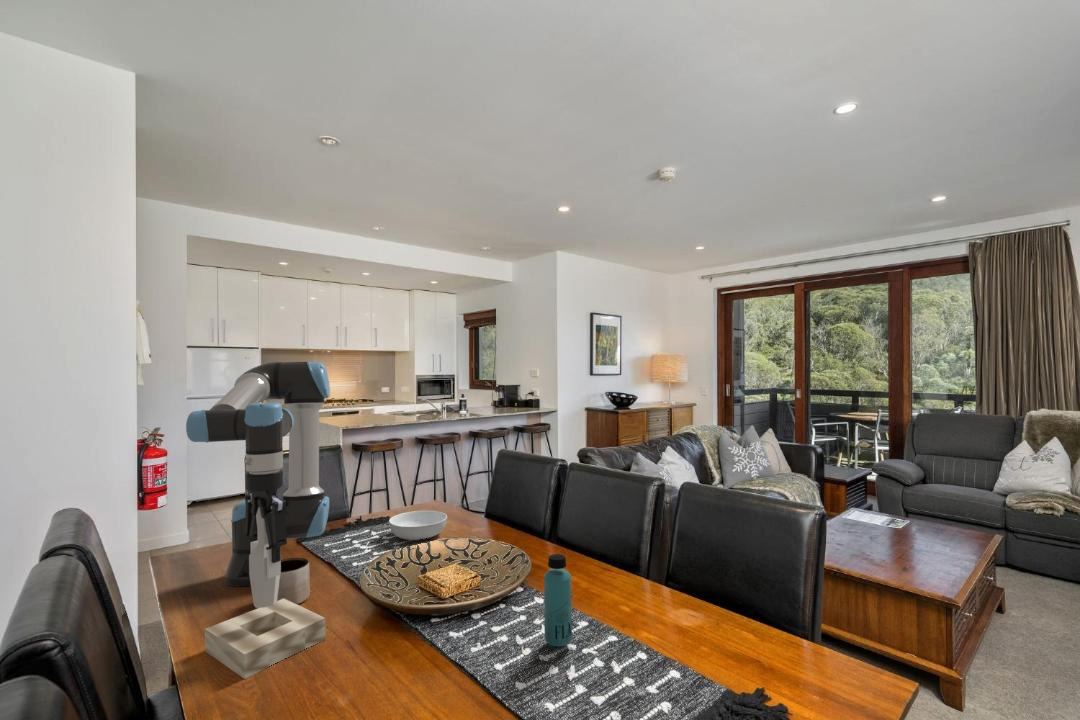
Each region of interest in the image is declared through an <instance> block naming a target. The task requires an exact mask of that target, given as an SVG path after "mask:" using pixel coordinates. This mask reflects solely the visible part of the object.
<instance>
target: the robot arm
mask: <svg viewBox="0 0 1080 720" xmlns="http://www.w3.org/2000/svg"><path fill="white" fill-rule="evenodd" d="M330 389H331V388H330V380H329V375H328V371H327V368H326V366H325V364H324V363H322V362H320V361H318V362H317V361H288V362H287V361H284V362H282V361H281V362H280V361H279V362H278V361H277V362H276V361H275V362H274V361H273V362H267V363H263V364H260V365H257V366H255V367H253V368H250V369H248V370H246V371H245V372H243V373H242V374H241V375H239V377H237V379H236V380H235V381H234V386H233V387H232V388H231V389H230V390H229V391H228V392H227V393H225V395H224V396H222V397H221V399H219V400H218V401H217V402H216V403H215V404H214V405H213V406H212V407H211V408H210V409H207V410H206V409H201V410H194V411H193V410H192V411H191V412H190V413H189V415H187V419H186V423H185V431H186V437H187V438H188V440H189V441H190V442H193V443H194V442H195V443H206V444H207V443H214V442H215V443H216V442H217V443H218V442H234V441H245V459H244V460H243V462H244V463H245V471H246V472H247V473H246V474H245V489H246V491H248V492H251V493H247V494H245V495H244V500H242V501H239V502H237V503H236V504H235V505H234V506H233V508H232V511H231V519H230V520H231V544H232V545H231V546H232V549H231V550H232V551H231V557H230V560H229V562H228V566H227V569H226V572H225V583H226V584H227V585H229V586H231V587H232V586H233V587H247V586H250V587H251V583H250V576H249V555H250V553H251V552H252V551H253V549H254V548H255V546H256V545H257V543H258V529H257V520H256V514H257V511H258V507H260V512H261V517H262V518H263V519H264V521H265V527H266V532H267V538H268V544H269V547H266V550H267V578H272V577H275V576H278V575H281V560H282V558H281V547H282V546H284V545H287V544H288V540H290V539H300V538H306V539H308V538H310V537H318V536H321V535H322V534H323V533H324V532H325V529H326V527H327V524H328V523H327V522H328V518H329V512H330V496H325V490H324V489H323V488H322V487H321V486H320V484H319V483H320V471H319V470H320V409H321V408H322V407H323V406H324V405H325V399H329V398H330V393H331V392H330ZM265 400H283V401H284V402H283V405H284V406H285V407H282V406H283V405H282V404H281V403H279V402H275V401H274V402H273V401H272V402H271V401H270V402H269V401H268V402H263V401H265ZM287 435H288V489H287V490H286V491H285V492H283V493H282V499H279V494H278V489H279V488H281V487H283V485H284V471H283V470H282V468H284V450H283V447H284V446H283V443H284V442H283V437H285V436H287ZM269 512H272V513H269ZM266 513H268V514H266Z"/></svg>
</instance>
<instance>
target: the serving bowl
mask: <svg viewBox="0 0 1080 720" xmlns="http://www.w3.org/2000/svg"><path fill="white" fill-rule="evenodd" d="M447 520H448V515H447V514H446V513H444V512H441V511H436V510H414V511H406V512H402V513H399V514H396V515H394V516H391V517H390V518H389V520H388V524H389V525H388V526H389V528H390V531H391V532H392V533H393V535H395V536H396V537H397V538H400V539H403V540H408V541H421V540H420V539H423V540H427V539H430V538H432V537H436V536H437V535H438V534H440V533H441V532H442V531H443V530H444V528H445V527H446V525H447ZM426 538H427V539H426Z"/></svg>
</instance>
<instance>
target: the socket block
mask: <svg viewBox="0 0 1080 720" xmlns="http://www.w3.org/2000/svg"><path fill="white" fill-rule="evenodd" d="M326 631H327V630H326V617H325V616H322V615H320V614H318V613H316V612H314V611H311V610H309V609H307V608H305V607H303V606H301V605H300V604H298V605H297V604H295V603H293V602H290V601H288V600H286V599H281V600H278V601H277V602H276V603H275V604H274V605H271V606H268V607H265V608H255V609H253V610H250V611H247V612H245V613H243V614H240V615H237V616H235V617H232V618H230V619H229V618H228V619H227V620H223V621H222V622H219V623H217V624H214V625H212V626H209V627H206V628H204V645H205V646H204V652H205V653H207V654H208V655H210V656H211V657H212V658H214V659H216V660H217V661H218V662H220V663H221V664H223V665H224V666H225V667H227V668H229V669H230V670H231V671H233V672H234V673H236V674H237V675H239V676H240V677H241V678H243V679H248V678H250V677H252V676H254V675H255V674H258V673H260V672H263V671H264V670H267V669H268V668H270V667H272V666H274V665H276V664H275V663H277V662H279V661H281V660H283V661H285V660H286V659H285V658H287V659H289V658H291V657H292V655H293V656H295V655H297V654H298V652H299V653H301V652H303V651H305V650H307V649H309V648H311V646H312V647H314V646H315V644H316V645H317V643H318V644H320V643H322V642H324V641H326V640H327V639H326V638H327V637H326V635H327V634H326V633H327V632H326ZM319 642H320V643H319ZM313 645H314V646H313ZM308 647H309V648H308ZM306 648H307V649H306ZM304 649H305V650H304ZM302 650H303V651H302ZM300 651H301V652H300ZM296 653H297V654H296ZM294 654H295V655H294ZM290 656H291V657H290ZM288 657H289V658H288ZM284 659H285V660H284ZM281 662H282V661H281ZM279 663H280V662H279ZM273 664H274V665H273ZM277 664H278V663H277ZM271 665H272V666H271ZM269 666H270V667H269ZM267 667H268V668H267Z"/></svg>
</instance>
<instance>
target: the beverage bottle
mask: <svg viewBox="0 0 1080 720" xmlns="http://www.w3.org/2000/svg"><path fill="white" fill-rule="evenodd" d="M547 566H548V568H550V569H548V571H547V572H545V574H544V575H543V591H544V592H543V595H544V599H543V601H544V603H543V604H544V608H543V609H544V610H543V611H544V613H543V616H544V621H543V622H544V623H543V626H544V627H543V633H544V640H545V642H546V643H547V644H548V645H550V646H554V647H564V646H566V645H569V644H570V643H571V642H572V639H573V635H574V634H573V630H574V628H573V625H574V624H573V609H572V607H573V604H572V603H573V599H572V598H573V592H572V591H573V590H572V575H571V573H570V572H569V571H568V570H567V569H565V568H567V557H566V556H565V555H564V554H561V553H554V554H551V555H549V556H548V562H547Z"/></svg>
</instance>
